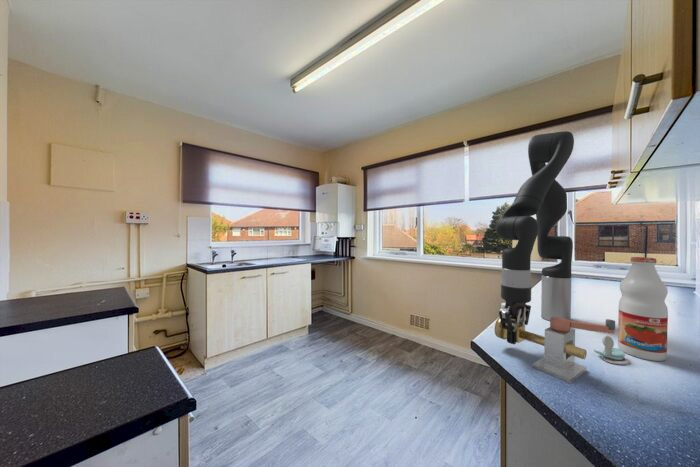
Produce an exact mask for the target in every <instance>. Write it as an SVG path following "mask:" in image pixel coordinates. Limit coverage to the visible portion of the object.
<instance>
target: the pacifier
mask: <svg viewBox="0 0 700 467" xmlns="http://www.w3.org/2000/svg"><path fill="white" fill-rule="evenodd" d="M601 341H602V344H603V346H604V349H603V351H599V350H596V349H593V352H594V353H597V354H599V355H600V356H601V358H602V359H603V360H604V361H605V362H607V363H609V364H614V365H622V366H625V365H628V364H629V363H630V360H629V359H628V358H626V357H625V356H626V353H625V352H623V351H622V350H620V349H619V348H617V347H614V346H615V345H614V344H615V342H614V340H613V338H612V337H611V336H610V335H604V336H603V337H602V339H601ZM617 360H619V361H617ZM620 360H622V361H620Z"/></svg>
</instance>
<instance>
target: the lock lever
mask: <svg viewBox="0 0 700 467" xmlns="http://www.w3.org/2000/svg"><path fill="white" fill-rule="evenodd" d="M549 322H550V324H549V327H551V328H552V329H554V330H558V331H563V332H569V331H570V328H573V329H575V330H576V329H577V330H583V331H590V332H596V333H597V332H598V333H605V334H610V335H611V334H612V335H614V334H615V330H616V320H614V319H610V318H609V319H608V318H607V319H605V324H598V323H592V322H591V323H590V322H583V321H577V320H571V321H570V320H567V319H564V318H559V317H551V318H550V321H549Z"/></svg>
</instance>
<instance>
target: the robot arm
mask: <svg viewBox="0 0 700 467" xmlns="http://www.w3.org/2000/svg"><path fill="white" fill-rule="evenodd" d="M574 146H575V138H574V135H573V133H572V132H571V131H569V130H567V131H564V130H562V131H555V132H548V133H540V134H535V135H534V136H532V137H531V138H530V139H529V142H528V146H527V151H528V152H527V154H528V155H527V157H528V162H529V166H530V172H531V176H530V177H529V178H528V179H527V180H526V181H525V182H524V183H522V185H521V186H520V187H519V189H518V191H517V194H516V196H515V198H514V200H513V203H511V205H509V207H508V208H506V210H505V211H504V212H502V214H501V215H500V216H499V218H498V219H497V222H496V224H495V233H496V235H497V236H498V238H499V239H501V240H507V241H517V243H516V245H515V247H509V248H505V249H504V250H502V254H501V262H502V263H501V273H500V298H501V299H502V300H504V301H505V303H506V304H505V310H504V311H501V310H500V309H499V310H500V311H499V310H498V316H499V315H500V320H501V325H502V328H503V329H506V330H507V339H506V341H507V342H506V343H509V344H511V345H516V343H517V342H516V327H517V324H522V325H525V326H528V324H529V320H530V315H531V309H532V308H531V307H532V306H531V304H530V305H529V304H528V303H531V302H532V274H531V272H532V271H531V258H532V257H531V255H532V252H533V249H534V245H535V242H536V240H537V243H536V244H537V245H536V246H537V254H538V256H539V257H540V258H542V259H545V260H546V259H548V260H560V262H558V263H557V264H555V265H551V266H545V267H543V268H542V269H541V294H540V295H541V296H540V298H541V305H540V306H541V309H540V314H541V315H540V316H541V318H542V319H544V320H546V321H549V322H550V318H551V317H559V318H564V319H567V320H570V321H572V320H571V319H572V318H571V317H572V262H573V259H572V258H573V250H574V243H573V239H572V237H571V236H564V235H549V233H550V231H551V230H553V227H554V226H556V225H557V223H559V222H560V220H561V219H562V218H563V217H564V216H565V214H567V213H566V212H567V211H568V196H567V192H566V190H565V188H564V186H562V185H561V184H560V183H559V182H558V180H557V177H558V176H559V175H560V173H561V171H562V170H563V168H564V167H565V165H566V164H567V162H568V160H569V159H570V157H571V155H572V153H573V150H574ZM533 216H535V217H533ZM511 318H512V319H514V320H511ZM505 323H506V324H505ZM512 323H513V326H512Z"/></svg>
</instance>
